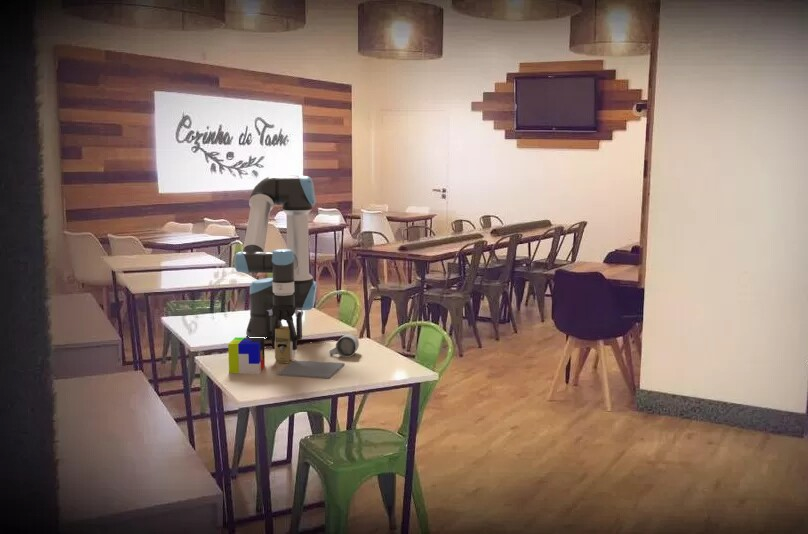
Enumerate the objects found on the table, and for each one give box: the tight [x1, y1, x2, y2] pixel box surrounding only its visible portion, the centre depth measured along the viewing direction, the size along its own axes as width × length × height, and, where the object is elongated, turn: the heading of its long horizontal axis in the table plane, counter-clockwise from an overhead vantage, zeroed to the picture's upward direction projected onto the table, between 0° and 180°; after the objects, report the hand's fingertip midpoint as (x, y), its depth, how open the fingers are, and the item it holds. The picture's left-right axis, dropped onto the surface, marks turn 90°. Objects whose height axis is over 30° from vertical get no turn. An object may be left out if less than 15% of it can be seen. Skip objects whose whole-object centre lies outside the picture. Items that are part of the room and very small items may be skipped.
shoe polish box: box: [274, 325, 295, 364], centre depth 277 cm, size 5×5×12 cm
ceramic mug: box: [329, 333, 360, 358], centre depth 288 cm, size 11×8×8 cm
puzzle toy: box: [227, 337, 266, 374], centre depth 267 cm, size 10×10×10 cm
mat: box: [276, 359, 345, 379], centre depth 267 cm, size 18×18×1 cm
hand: (284, 358), depth 278 cm, fingers closed on shoe polish box, 5 cm apart
